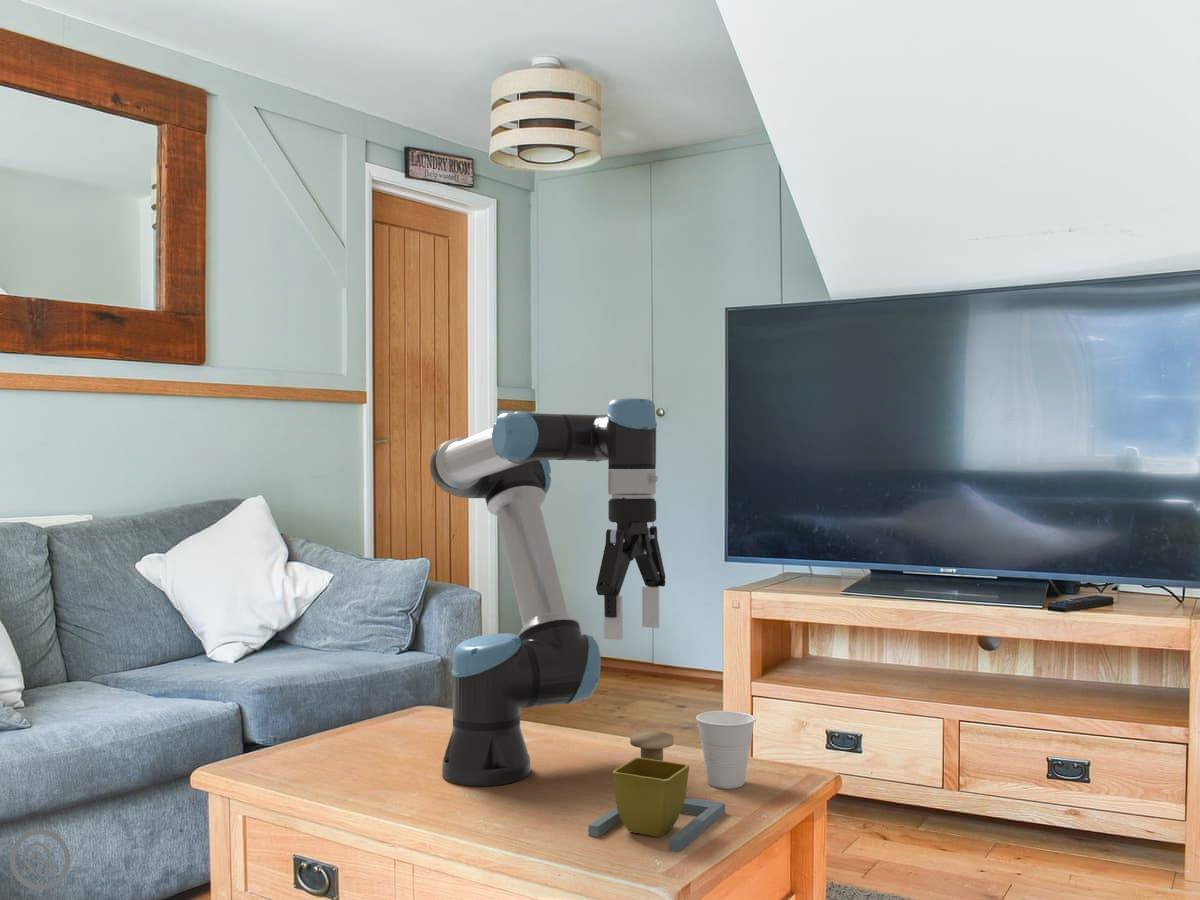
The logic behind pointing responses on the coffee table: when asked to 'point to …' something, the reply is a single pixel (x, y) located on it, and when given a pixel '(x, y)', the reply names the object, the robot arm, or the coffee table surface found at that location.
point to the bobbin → (651, 743)
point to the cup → (725, 746)
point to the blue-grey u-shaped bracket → (705, 818)
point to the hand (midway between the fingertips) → (632, 633)
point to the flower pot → (650, 794)
